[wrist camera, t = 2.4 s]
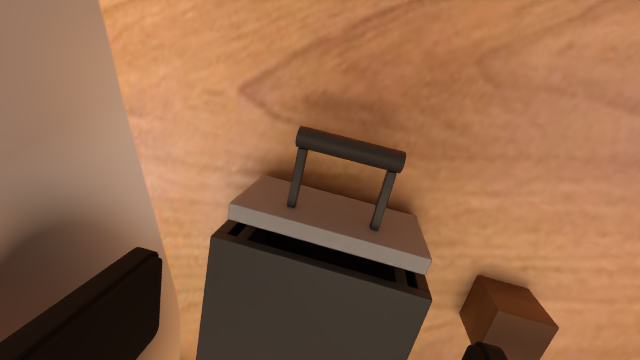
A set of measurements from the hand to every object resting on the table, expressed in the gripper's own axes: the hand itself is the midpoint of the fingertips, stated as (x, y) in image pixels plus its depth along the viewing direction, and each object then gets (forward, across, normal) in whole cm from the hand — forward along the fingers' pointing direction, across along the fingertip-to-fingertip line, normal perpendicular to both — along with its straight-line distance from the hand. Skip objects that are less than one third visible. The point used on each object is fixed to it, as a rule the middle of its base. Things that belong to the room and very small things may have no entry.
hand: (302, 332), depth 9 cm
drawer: (+17, 0, +7) cm, 18 cm away
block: (+18, -16, +8) cm, 25 cm away
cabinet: (+18, 0, +12) cm, 22 cm away
